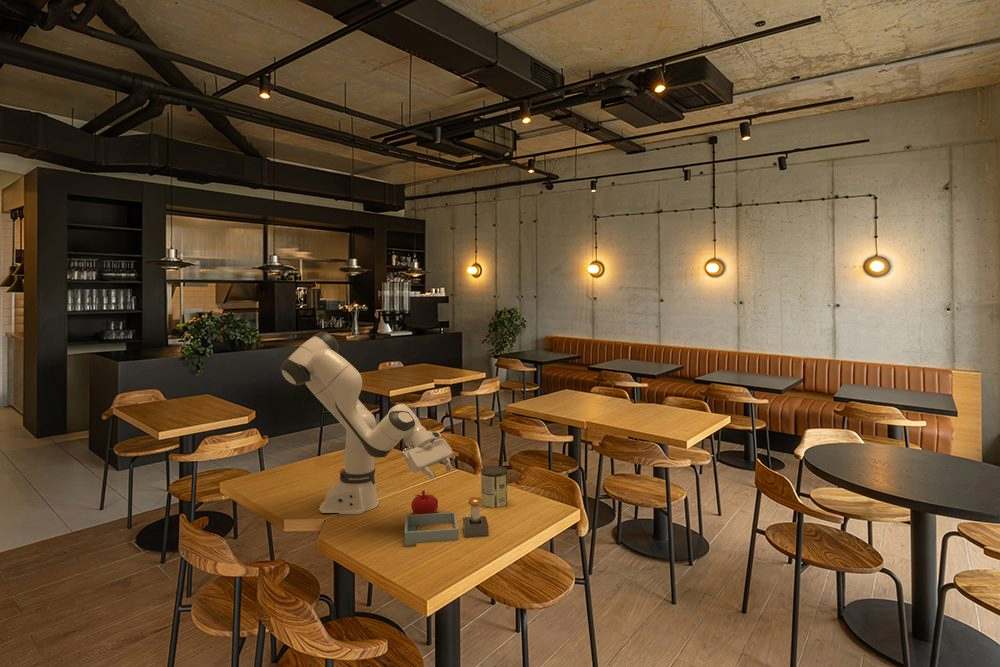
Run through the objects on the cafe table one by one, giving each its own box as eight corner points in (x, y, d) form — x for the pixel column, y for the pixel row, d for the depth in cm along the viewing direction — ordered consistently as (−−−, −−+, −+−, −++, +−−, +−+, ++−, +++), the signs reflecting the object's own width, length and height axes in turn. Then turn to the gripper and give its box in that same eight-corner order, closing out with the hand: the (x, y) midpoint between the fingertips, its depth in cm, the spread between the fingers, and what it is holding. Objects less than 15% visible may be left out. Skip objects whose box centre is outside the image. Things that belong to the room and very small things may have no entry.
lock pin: (469, 534, 181) (469, 502, 180) (468, 529, 185) (468, 497, 185) (482, 533, 182) (482, 501, 181) (481, 528, 186) (480, 496, 185)
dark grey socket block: (464, 540, 179) (464, 527, 179) (462, 530, 187) (462, 517, 187) (488, 538, 180) (488, 525, 180) (485, 528, 188) (485, 516, 188)
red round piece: (437, 520, 196) (437, 495, 195) (410, 520, 196) (410, 495, 195) (438, 508, 206) (438, 485, 205) (412, 509, 205) (412, 485, 205)
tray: (404, 546, 175) (404, 532, 175) (405, 527, 189) (405, 515, 189) (458, 542, 177) (458, 529, 177) (455, 524, 192) (455, 512, 192)
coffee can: (488, 498, 217) (487, 464, 216) (511, 502, 212) (511, 467, 211) (476, 507, 207) (476, 471, 206) (500, 511, 203) (500, 475, 202)
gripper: (405, 444, 182) (428, 477, 177) (442, 431, 199) (464, 461, 195) (395, 455, 185) (418, 488, 180) (433, 441, 202) (454, 471, 197)
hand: (442, 473), depth 188 cm, fingers open, 8 cm apart
